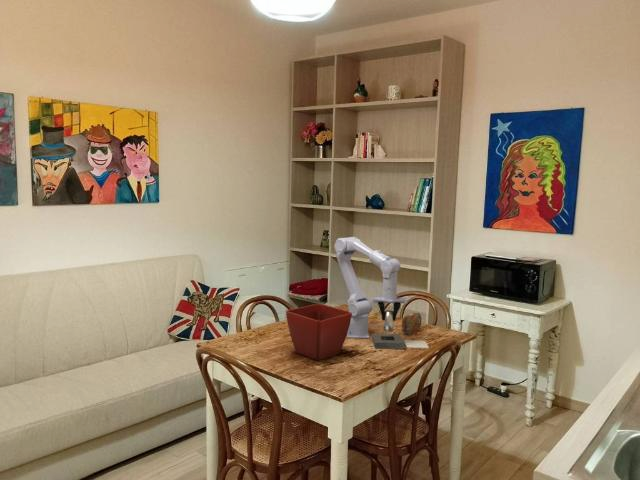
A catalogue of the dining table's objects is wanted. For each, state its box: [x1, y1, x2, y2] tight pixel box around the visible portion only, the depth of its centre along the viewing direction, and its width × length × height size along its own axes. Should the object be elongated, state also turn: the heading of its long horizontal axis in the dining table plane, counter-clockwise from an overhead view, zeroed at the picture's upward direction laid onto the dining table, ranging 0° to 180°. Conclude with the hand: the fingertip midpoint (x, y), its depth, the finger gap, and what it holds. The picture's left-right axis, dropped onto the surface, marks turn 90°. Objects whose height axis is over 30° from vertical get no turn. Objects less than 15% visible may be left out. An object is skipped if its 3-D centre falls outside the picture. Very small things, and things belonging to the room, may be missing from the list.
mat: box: [403, 339, 430, 349], centre depth 216 cm, size 9×9×1 cm
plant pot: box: [285, 303, 352, 361], centre depth 202 cm, size 19×19×17 cm
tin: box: [401, 312, 422, 336], centre depth 234 cm, size 15×3×8 cm, turn 143°
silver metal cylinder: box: [382, 309, 394, 332], centre depth 215 cm, size 4×4×8 cm
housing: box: [371, 333, 405, 350], centre depth 216 cm, size 12×12×2 cm
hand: (388, 319), depth 215 cm, fingers closed on silver metal cylinder, 4 cm apart
